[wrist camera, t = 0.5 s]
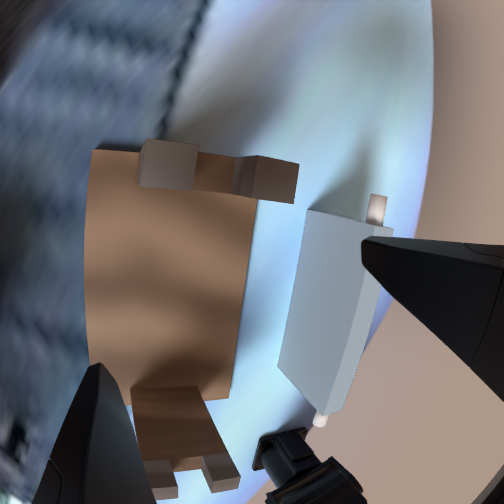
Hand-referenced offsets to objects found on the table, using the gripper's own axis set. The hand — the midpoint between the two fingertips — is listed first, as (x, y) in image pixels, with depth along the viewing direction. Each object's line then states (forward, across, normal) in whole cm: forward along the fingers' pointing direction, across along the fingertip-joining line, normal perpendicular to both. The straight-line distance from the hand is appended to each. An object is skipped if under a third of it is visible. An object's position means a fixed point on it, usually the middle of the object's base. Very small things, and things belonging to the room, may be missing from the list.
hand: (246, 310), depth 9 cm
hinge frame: (+13, +2, +6) cm, 15 cm away
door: (+12, -8, +12) cm, 19 cm away
